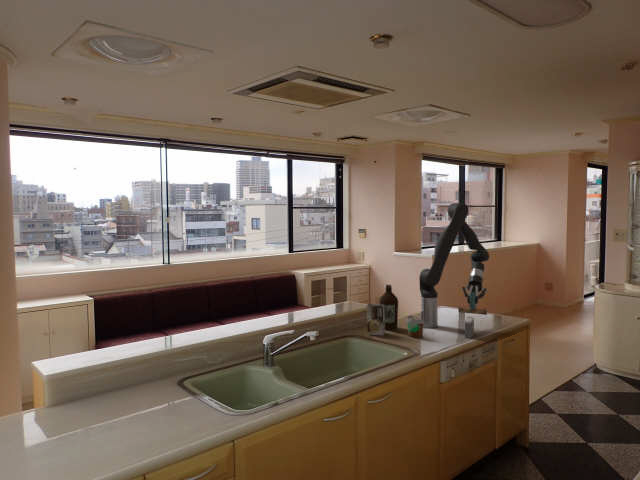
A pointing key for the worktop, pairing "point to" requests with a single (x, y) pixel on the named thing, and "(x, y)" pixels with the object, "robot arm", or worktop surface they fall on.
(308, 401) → the worktop surface
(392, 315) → the olive oil
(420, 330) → the food container
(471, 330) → the block
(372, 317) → the coffee box
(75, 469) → the worktop surface
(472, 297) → the beam
